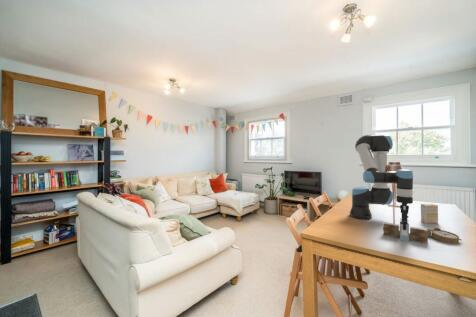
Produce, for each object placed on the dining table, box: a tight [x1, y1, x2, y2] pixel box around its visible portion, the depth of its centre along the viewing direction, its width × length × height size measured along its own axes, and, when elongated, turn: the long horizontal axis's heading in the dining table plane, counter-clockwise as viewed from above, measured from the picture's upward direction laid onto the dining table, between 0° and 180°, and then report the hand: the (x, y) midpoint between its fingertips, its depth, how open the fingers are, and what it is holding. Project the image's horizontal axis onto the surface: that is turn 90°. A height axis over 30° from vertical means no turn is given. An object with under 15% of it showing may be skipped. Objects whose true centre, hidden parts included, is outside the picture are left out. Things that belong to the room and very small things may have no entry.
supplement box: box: [420, 203, 439, 224], centre depth 146 cm, size 8×5×13 cm, turn 84°
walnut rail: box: [383, 222, 429, 244], centre depth 120 cm, size 20×3×7 cm, turn 51°
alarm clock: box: [426, 227, 462, 244], centre depth 120 cm, size 11×5×15 cm
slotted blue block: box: [399, 217, 410, 243], centre depth 120 cm, size 10×4×10 cm, turn 141°
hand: (404, 231), depth 120 cm, fingers open, 13 cm apart
